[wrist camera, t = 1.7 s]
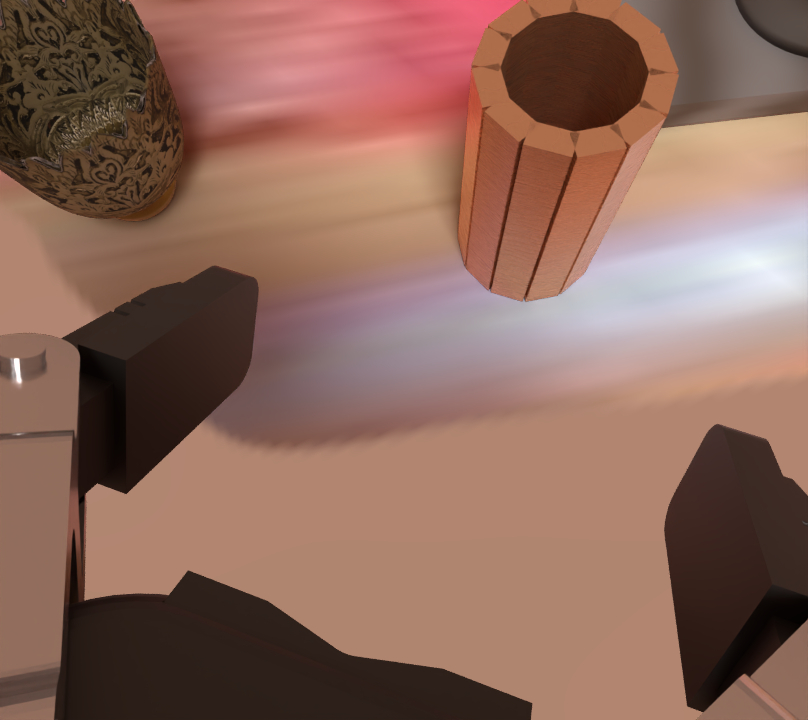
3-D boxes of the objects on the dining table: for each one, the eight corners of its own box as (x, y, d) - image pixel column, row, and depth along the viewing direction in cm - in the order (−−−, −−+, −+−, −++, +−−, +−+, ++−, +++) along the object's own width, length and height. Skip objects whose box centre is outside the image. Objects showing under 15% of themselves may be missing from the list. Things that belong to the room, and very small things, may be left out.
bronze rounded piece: (248, 223, 29) (181, 99, 21) (90, 294, 28) (-39, 192, 20) (188, 99, 31) (108, -55, 23) (40, 162, 30) (-93, 24, 22)
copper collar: (442, 277, 27) (448, 124, 18) (481, 168, 29) (506, -27, 19) (572, 316, 27) (651, 178, 17) (605, 202, 28) (694, 16, 19)
